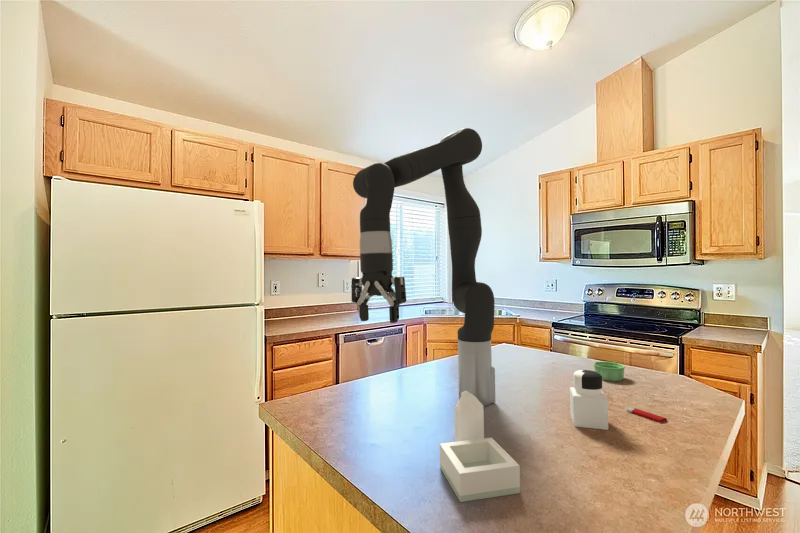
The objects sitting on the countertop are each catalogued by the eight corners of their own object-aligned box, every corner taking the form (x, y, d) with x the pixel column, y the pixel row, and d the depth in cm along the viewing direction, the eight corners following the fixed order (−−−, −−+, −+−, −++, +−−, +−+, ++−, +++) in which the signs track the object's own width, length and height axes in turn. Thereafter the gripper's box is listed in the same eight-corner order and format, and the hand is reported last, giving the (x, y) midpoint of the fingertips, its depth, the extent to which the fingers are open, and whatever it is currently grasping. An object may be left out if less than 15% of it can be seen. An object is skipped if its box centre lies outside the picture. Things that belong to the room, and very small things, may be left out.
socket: (492, 460, 71) (491, 437, 71) (520, 493, 60) (519, 465, 60) (440, 467, 69) (439, 443, 69) (460, 502, 58) (459, 473, 58)
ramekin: (631, 381, 117) (630, 368, 117) (602, 382, 117) (602, 368, 117) (615, 373, 126) (614, 361, 126) (588, 374, 126) (588, 361, 126)
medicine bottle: (602, 418, 89) (601, 369, 89) (608, 430, 83) (607, 377, 83) (570, 415, 92) (569, 366, 92) (573, 426, 85) (572, 374, 85)
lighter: (659, 419, 86) (625, 408, 93) (660, 425, 86) (625, 413, 93) (666, 417, 87) (632, 406, 95) (666, 422, 87) (632, 411, 95)
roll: (485, 387, 78) (481, 396, 72) (486, 444, 77) (482, 457, 72) (457, 384, 80) (451, 392, 74) (458, 440, 80) (452, 452, 74)
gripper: (410, 250, 85) (413, 321, 84) (363, 253, 93) (365, 318, 93) (391, 250, 78) (394, 326, 78) (342, 253, 86) (345, 322, 86)
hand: (378, 321), depth 85 cm, fingers open, 8 cm apart
